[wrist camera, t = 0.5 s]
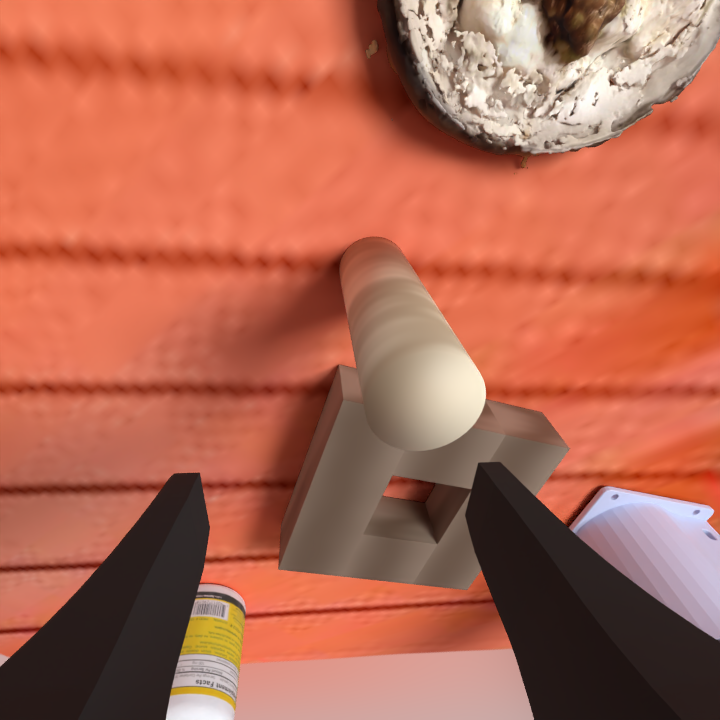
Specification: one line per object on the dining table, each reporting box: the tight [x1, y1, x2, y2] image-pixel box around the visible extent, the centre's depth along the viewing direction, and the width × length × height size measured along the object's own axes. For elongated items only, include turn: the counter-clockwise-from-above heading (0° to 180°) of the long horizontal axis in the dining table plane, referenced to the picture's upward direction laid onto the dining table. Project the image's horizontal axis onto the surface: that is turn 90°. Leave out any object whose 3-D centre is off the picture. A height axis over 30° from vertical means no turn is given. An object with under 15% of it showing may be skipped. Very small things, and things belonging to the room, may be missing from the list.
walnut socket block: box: [278, 365, 570, 590], centre depth 24 cm, size 12×12×3 cm
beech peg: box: [339, 237, 486, 451], centre depth 15 cm, size 3×3×10 cm
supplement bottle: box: [166, 584, 246, 720], centre depth 26 cm, size 5×5×10 cm
